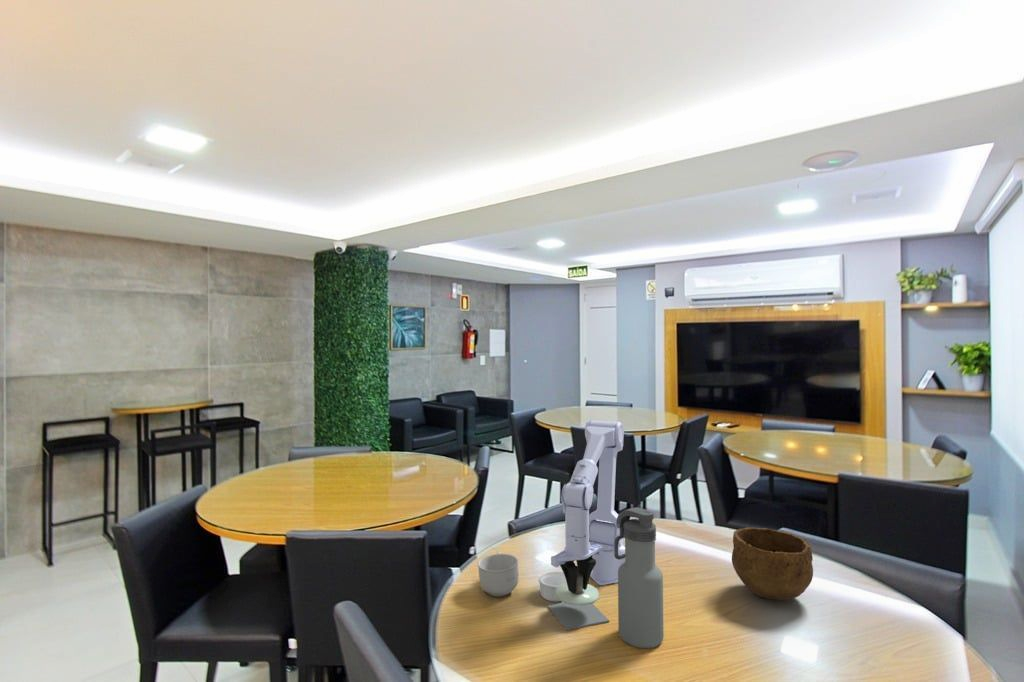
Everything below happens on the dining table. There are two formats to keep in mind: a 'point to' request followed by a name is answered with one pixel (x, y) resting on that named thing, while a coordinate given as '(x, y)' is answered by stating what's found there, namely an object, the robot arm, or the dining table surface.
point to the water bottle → (639, 581)
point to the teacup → (498, 573)
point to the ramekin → (551, 584)
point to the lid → (577, 593)
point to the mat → (578, 615)
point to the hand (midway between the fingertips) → (577, 589)
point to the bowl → (772, 562)
